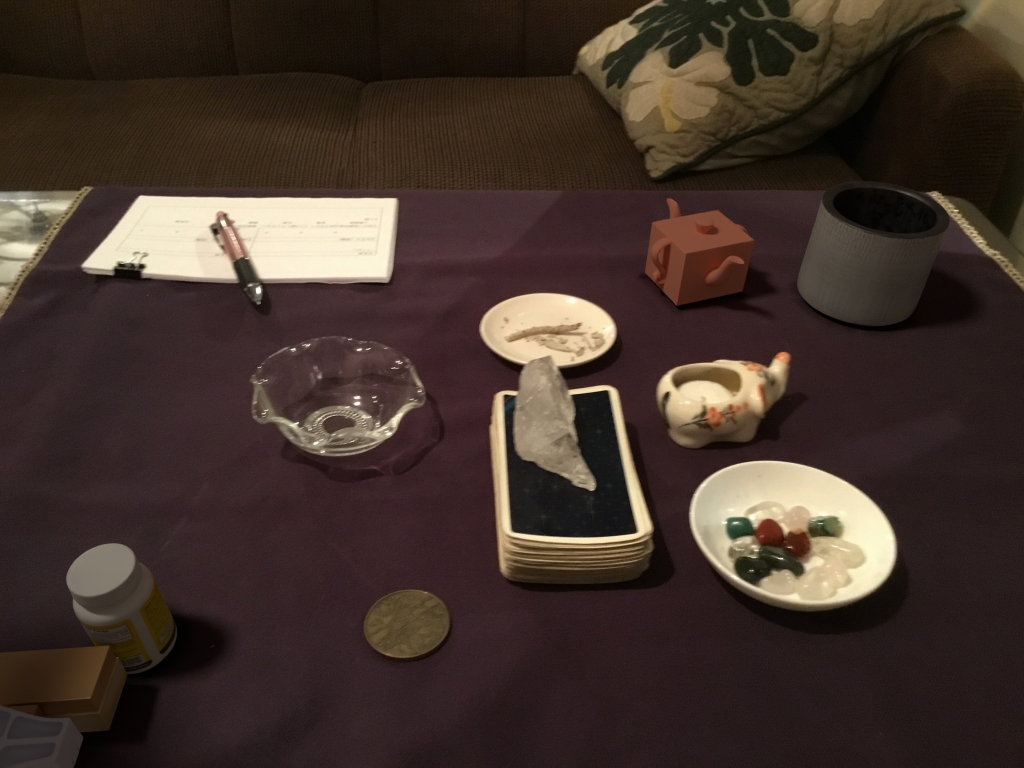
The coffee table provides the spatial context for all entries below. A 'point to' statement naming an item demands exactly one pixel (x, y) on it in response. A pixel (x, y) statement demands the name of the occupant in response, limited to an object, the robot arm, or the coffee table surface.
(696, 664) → the coffee table surface
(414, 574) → the coffee table surface
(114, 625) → the supplement bottle
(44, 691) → the brown t-shaped piece
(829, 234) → the planter
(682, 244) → the teapot
